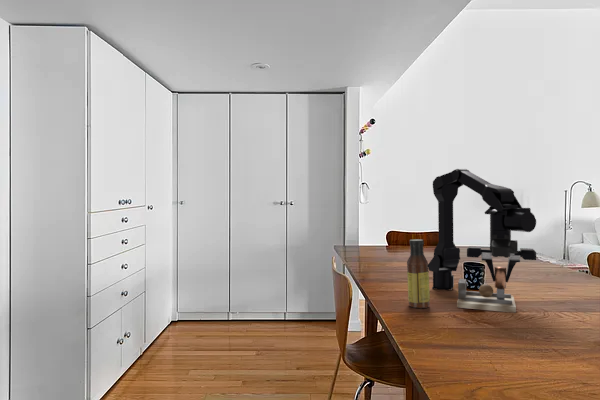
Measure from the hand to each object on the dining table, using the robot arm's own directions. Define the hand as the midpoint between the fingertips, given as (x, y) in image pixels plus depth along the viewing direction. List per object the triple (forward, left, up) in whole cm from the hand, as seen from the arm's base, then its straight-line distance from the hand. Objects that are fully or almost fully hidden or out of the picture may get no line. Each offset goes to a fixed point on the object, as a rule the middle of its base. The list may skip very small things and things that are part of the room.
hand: (500, 281), depth 134 cm
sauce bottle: (-22, -11, -7) cm, 26 cm away
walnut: (-4, 0, -5) cm, 6 cm away
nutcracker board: (-4, 0, -7) cm, 8 cm away
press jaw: (0, 0, -5) cm, 5 cm away
